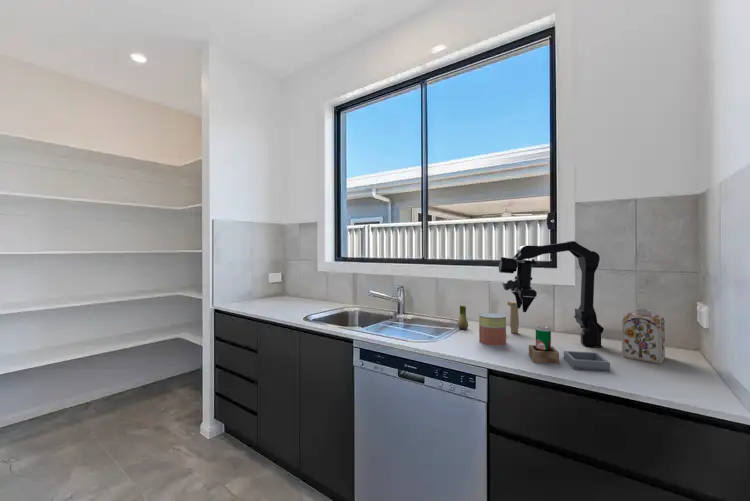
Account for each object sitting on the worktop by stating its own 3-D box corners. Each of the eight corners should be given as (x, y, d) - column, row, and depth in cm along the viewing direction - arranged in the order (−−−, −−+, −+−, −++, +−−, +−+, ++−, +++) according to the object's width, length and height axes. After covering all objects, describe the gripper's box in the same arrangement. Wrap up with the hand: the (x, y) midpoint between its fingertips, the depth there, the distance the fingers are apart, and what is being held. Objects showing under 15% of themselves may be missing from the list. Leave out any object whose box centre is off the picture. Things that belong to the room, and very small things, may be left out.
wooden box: (552, 356, 129) (552, 346, 129) (559, 364, 121) (559, 352, 121) (528, 355, 131) (528, 344, 131) (533, 362, 123) (533, 351, 123)
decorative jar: (627, 350, 136) (627, 305, 136) (665, 357, 128) (665, 309, 128) (621, 357, 128) (621, 309, 128) (661, 364, 120) (661, 313, 120)
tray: (596, 360, 124) (596, 352, 124) (610, 371, 114) (609, 362, 114) (563, 358, 127) (563, 350, 127) (573, 368, 116) (573, 360, 116)
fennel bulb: (458, 327, 179) (458, 304, 179) (468, 327, 178) (468, 304, 178) (458, 329, 174) (458, 306, 173) (468, 330, 172) (468, 306, 172)
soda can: (532, 358, 128) (532, 326, 127) (542, 356, 130) (542, 325, 129) (544, 362, 123) (544, 329, 123) (554, 360, 125) (554, 327, 125)
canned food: (508, 341, 151) (508, 314, 151) (503, 347, 142) (503, 318, 142) (482, 337, 157) (482, 311, 157) (475, 343, 148) (475, 316, 148)
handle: (520, 334, 162) (520, 303, 162) (506, 333, 166) (506, 302, 166) (522, 332, 166) (522, 301, 166) (508, 331, 170) (508, 300, 170)
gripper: (500, 271, 158) (497, 305, 159) (509, 274, 140) (506, 312, 140) (525, 273, 157) (523, 307, 157) (538, 276, 138) (535, 315, 138)
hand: (521, 310), depth 148 cm, fingers open, 9 cm apart
